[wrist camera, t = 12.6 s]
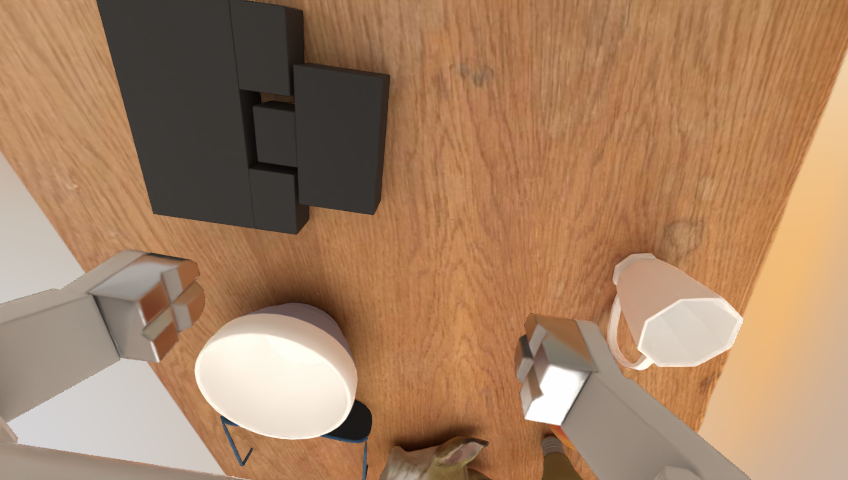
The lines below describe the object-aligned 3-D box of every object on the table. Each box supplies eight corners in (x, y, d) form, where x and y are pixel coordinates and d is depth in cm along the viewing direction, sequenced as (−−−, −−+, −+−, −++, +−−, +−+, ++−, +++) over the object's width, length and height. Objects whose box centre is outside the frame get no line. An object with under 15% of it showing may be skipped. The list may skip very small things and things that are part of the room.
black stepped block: (267, 56, 26) (247, 57, 23) (390, 74, 26) (383, 78, 23) (277, 185, 30) (261, 198, 28) (380, 201, 30) (374, 215, 28)
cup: (696, 252, 31) (769, 313, 24) (629, 332, 36) (674, 403, 29) (624, 228, 30) (677, 283, 23) (566, 313, 35) (596, 380, 28)
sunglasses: (376, 400, 43) (367, 443, 39) (372, 452, 52) (364, 492, 48) (237, 380, 43) (214, 421, 39) (256, 436, 52) (238, 474, 48)
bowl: (228, 268, 35) (176, 320, 28) (372, 288, 35) (354, 344, 28) (246, 369, 42) (208, 430, 35) (366, 385, 42) (351, 449, 35)
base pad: (128, -16, 24) (89, -24, 21) (303, 10, 24) (285, 6, 21) (177, 200, 32) (153, 214, 29) (309, 219, 32) (296, 235, 29)
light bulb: (582, 432, 44) (615, 528, 35) (556, 455, 46) (581, 550, 37) (543, 418, 43) (567, 513, 34) (519, 442, 45) (535, 536, 37)
